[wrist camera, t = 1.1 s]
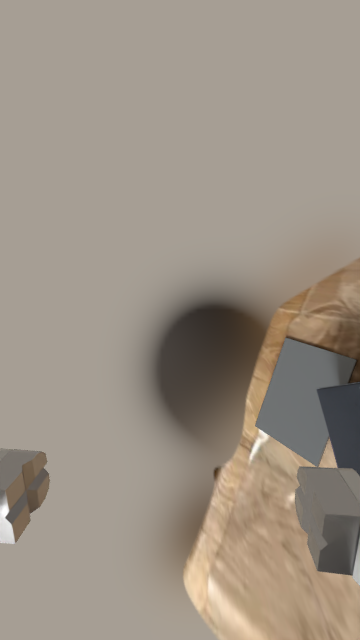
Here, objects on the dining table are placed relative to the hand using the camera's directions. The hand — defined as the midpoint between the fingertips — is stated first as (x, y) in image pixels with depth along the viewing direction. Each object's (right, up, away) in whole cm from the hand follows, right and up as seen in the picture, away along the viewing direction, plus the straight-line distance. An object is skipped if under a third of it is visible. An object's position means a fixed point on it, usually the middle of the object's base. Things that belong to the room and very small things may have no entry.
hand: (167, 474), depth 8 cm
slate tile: (+22, -8, +38) cm, 44 cm away
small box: (+28, -10, +30) cm, 42 cm away
